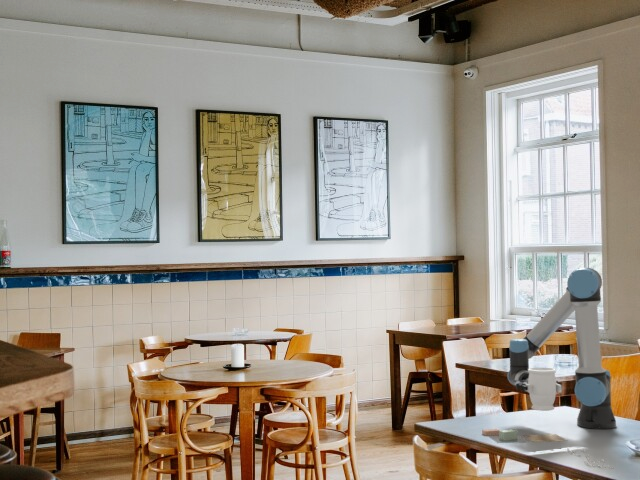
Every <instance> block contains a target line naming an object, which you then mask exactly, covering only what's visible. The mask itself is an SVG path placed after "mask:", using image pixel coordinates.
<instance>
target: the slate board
mask: <svg viewBox="0 0 640 480" xmlns="http://www.w3.org/2000/svg"><path fill="white" fill-rule="evenodd" d="M488 437H489V438H490V439H491V440H493V441H495V443H497V444H504V443H505V444H507V443H512V444H513V443H529V442H530V441H529V440H527V439H526V438H524V437H522V436H521V435H519V434H517V439H513V440H501V439H499V435H488Z"/></svg>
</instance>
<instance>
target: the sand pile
mask: <svg viewBox="0 0 640 480" xmlns="http://www.w3.org/2000/svg"><path fill="white" fill-rule="evenodd" d="M522 436H524V437H525V439H526V438H527V439H528V440H530V441H531V442H533V443H535V442H536V443H542V442H543V443H544V442H546V443H547V442H548V443H549V442H568V439H565V438H564V437H563V436H560V435H559V434H555V433H554V434H553V433H549V434H523V435H522Z"/></svg>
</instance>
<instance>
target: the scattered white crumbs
mask: <svg viewBox="0 0 640 480" xmlns="http://www.w3.org/2000/svg"><path fill="white" fill-rule="evenodd" d="M582 451H583V452H584V453H583V452H581V451H580V450H579V451H578V453H581V455H584V457H585V458H587V459H586V460H585V461H583V462H584V463H585V464H584V465H586V466H588V467H590V468H591V467H594V468H595V465H594V464H595V463H596V461H595V460H594V461H593V463H594V464H590V463H592V460H591V458H589V457H590V456H591V454H590V453H587V452H586V449H585V448H583V450H582ZM567 452H568V453H569V454H571V455H573V456H578V457H581V455H580V454H578V453H577V451H576V450H575V451H574V450H570V449H569V448H567ZM573 452H574V453H573ZM597 463H600V461H599V460H597ZM601 463H605V460H604V459H601ZM597 467H598V468H601V469H602V468H603V467H604V469H606V467H609V469H611V470H612V469H614V466H610V465H609V464H608V465H607V466H604V464H603V465H599V464H597Z"/></svg>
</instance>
